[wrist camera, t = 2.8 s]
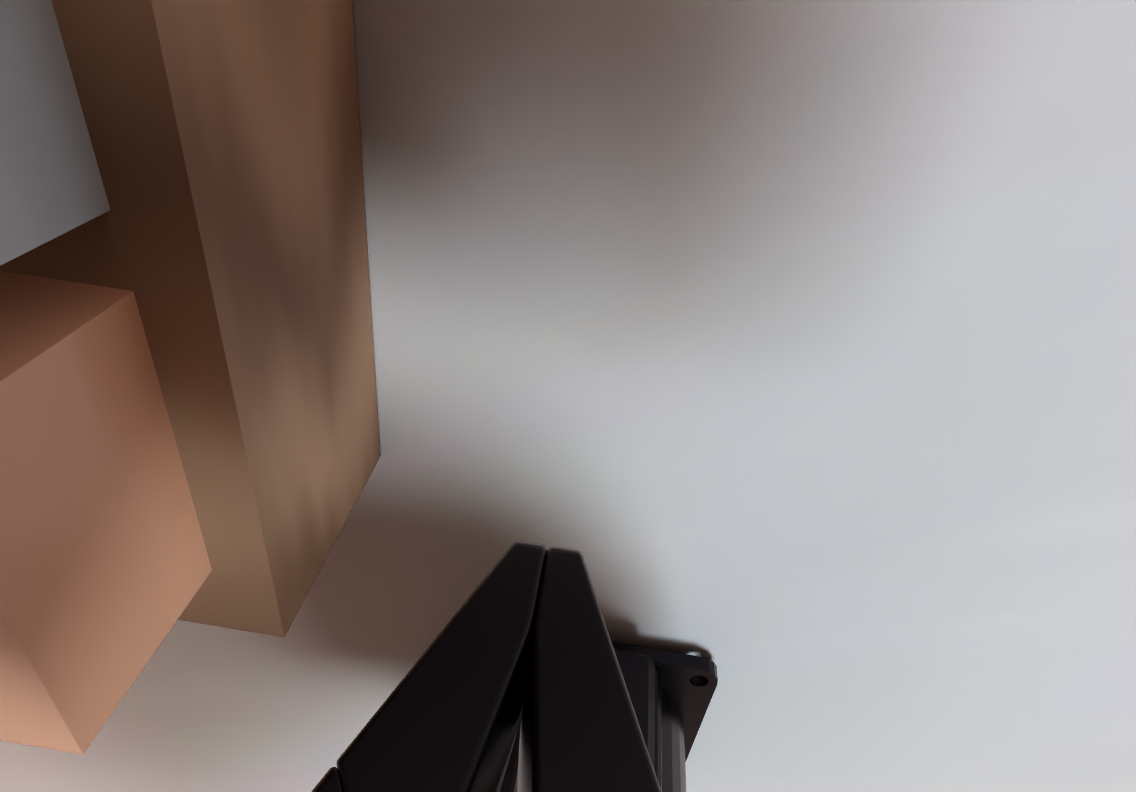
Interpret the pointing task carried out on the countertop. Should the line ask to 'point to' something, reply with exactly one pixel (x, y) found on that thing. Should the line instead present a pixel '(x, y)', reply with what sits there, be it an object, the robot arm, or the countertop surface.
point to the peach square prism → (84, 510)
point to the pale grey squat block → (41, 134)
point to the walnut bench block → (237, 268)
